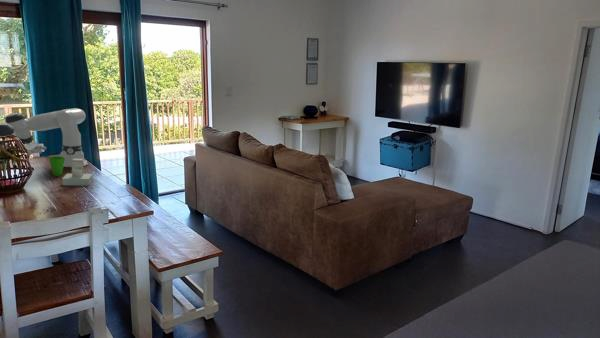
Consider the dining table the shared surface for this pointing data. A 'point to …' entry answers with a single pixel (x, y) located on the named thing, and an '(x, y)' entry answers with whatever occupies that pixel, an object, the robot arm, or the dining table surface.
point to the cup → (57, 165)
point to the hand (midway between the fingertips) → (43, 149)
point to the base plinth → (77, 180)
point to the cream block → (77, 167)
